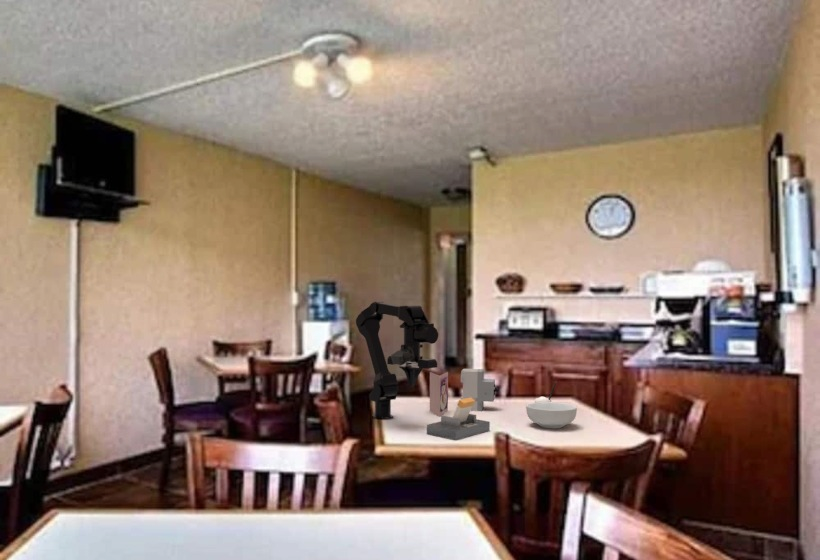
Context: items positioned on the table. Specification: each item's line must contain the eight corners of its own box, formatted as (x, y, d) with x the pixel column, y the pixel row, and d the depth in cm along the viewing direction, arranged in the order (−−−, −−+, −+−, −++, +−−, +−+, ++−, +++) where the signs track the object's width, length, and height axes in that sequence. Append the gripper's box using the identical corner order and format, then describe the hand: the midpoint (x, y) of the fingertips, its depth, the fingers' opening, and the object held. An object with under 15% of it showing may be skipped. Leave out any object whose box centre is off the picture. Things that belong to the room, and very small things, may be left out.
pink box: (441, 417, 246) (441, 375, 246) (422, 415, 248) (422, 374, 248) (449, 411, 257) (450, 371, 257) (431, 409, 259) (431, 370, 259)
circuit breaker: (497, 411, 256) (498, 372, 256) (460, 410, 259) (460, 371, 259) (499, 408, 264) (499, 369, 264) (462, 406, 266) (463, 368, 266)
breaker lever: (450, 421, 220) (459, 399, 217) (462, 418, 225) (471, 397, 222) (454, 425, 219) (463, 403, 216) (466, 422, 223) (475, 400, 221)
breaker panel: (426, 433, 219) (426, 417, 219) (461, 425, 232) (461, 409, 232) (455, 440, 211) (456, 422, 211) (489, 430, 224) (489, 414, 224)
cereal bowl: (580, 423, 236) (580, 403, 236) (571, 433, 221) (571, 412, 221) (533, 419, 243) (533, 399, 243) (520, 428, 228) (520, 407, 228)
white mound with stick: (529, 414, 253) (527, 382, 253) (535, 411, 258) (534, 380, 258) (553, 416, 248) (551, 384, 248) (559, 413, 253) (557, 381, 253)
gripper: (376, 341, 234) (376, 386, 234) (416, 345, 221) (416, 392, 221) (398, 339, 242) (398, 382, 242) (438, 342, 229) (438, 388, 229)
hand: (411, 386), depth 233 cm, fingers closed
